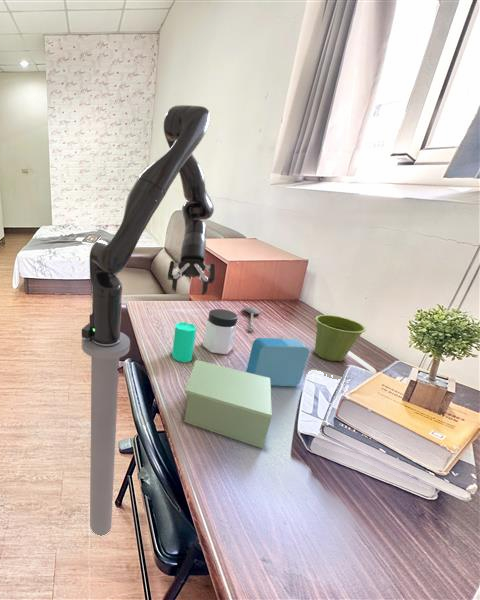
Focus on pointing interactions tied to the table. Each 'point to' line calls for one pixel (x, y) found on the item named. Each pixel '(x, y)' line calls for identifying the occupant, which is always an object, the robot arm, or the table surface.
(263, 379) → the chest lid
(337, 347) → the plant pot
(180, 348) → the candle
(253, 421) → the chest
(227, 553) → the table surface
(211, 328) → the jar
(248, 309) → the soupspoon
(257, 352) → the data package
